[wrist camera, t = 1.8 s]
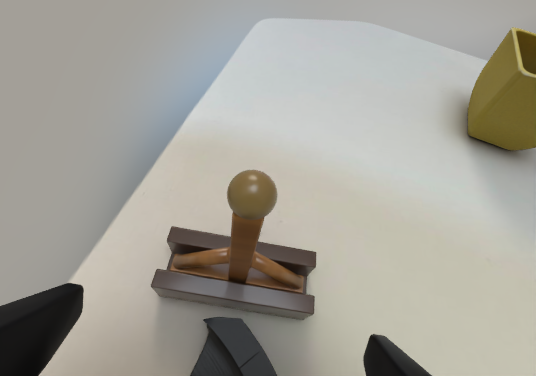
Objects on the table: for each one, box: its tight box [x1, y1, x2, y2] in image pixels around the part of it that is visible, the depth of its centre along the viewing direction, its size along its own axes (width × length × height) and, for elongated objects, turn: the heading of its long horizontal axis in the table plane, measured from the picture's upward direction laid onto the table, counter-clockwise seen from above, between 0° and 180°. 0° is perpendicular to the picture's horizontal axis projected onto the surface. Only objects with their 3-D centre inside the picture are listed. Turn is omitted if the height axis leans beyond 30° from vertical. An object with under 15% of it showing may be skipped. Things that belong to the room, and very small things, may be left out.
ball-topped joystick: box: [170, 170, 304, 294], centre depth 15 cm, size 2×9×13 cm, turn 83°
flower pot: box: [468, 27, 536, 151], centre depth 29 cm, size 9×9×9 cm
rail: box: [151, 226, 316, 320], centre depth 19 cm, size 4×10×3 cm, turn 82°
